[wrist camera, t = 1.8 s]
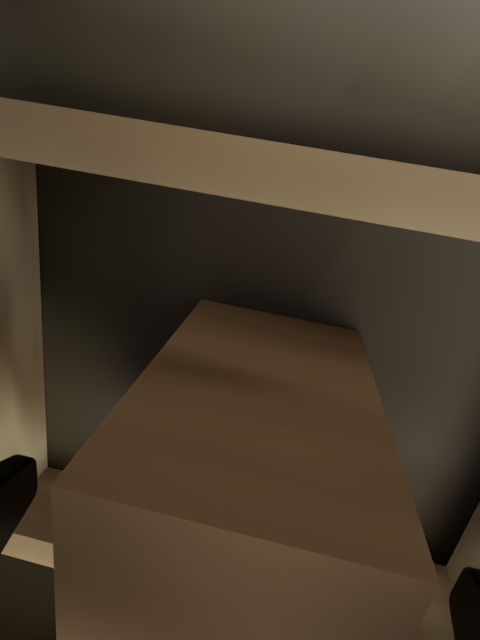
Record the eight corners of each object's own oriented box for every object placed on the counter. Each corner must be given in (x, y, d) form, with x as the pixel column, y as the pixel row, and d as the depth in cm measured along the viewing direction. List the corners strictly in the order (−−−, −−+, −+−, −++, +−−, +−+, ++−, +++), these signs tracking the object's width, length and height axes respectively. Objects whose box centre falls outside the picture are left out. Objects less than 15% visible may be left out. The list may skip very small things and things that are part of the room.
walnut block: (321, 458, 14) (337, 782, 7) (185, 426, 14) (58, 696, 7) (359, 331, 12) (440, 584, 5) (201, 298, 13) (50, 485, 5)
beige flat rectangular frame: (467, 595, 15) (503, 691, 12) (22, 481, 17) (-35, 543, 14) (684, 214, 10) (835, 232, 7) (-6, 101, 11) (-107, 79, 9)
